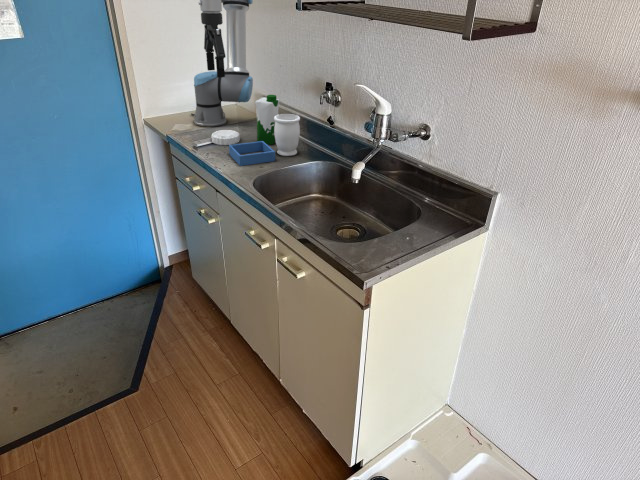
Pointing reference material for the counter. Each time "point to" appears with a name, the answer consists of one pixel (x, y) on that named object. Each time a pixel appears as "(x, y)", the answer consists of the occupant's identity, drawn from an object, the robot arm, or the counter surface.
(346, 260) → the counter surface
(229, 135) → the mooncake
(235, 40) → the robot arm
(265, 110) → the milk carton
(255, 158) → the blue crate
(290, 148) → the jar
